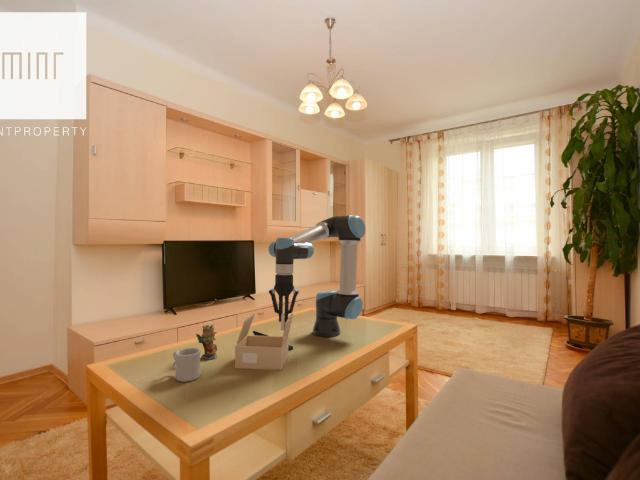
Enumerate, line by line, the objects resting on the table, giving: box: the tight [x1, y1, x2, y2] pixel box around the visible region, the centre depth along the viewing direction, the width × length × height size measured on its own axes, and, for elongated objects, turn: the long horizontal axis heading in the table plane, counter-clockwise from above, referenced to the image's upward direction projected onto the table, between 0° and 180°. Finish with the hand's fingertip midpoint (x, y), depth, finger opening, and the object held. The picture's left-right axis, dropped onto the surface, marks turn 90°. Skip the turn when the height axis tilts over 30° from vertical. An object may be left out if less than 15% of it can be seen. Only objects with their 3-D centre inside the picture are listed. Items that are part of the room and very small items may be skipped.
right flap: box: [281, 313, 294, 345], centre depth 142 cm, size 13×1×10 cm, turn 175°
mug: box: [172, 347, 202, 383], centre depth 128 cm, size 12×9×10 cm
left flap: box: [236, 313, 256, 345], centre depth 143 cm, size 13×1×10 cm, turn 175°
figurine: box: [196, 324, 218, 361], centre depth 148 cm, size 9×8×15 cm
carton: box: [234, 334, 289, 371], centre depth 143 cm, size 15×19×9 cm
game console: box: [252, 330, 294, 352], centre depth 160 cm, size 16×14×9 cm
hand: (283, 329), depth 142 cm, fingers closed
